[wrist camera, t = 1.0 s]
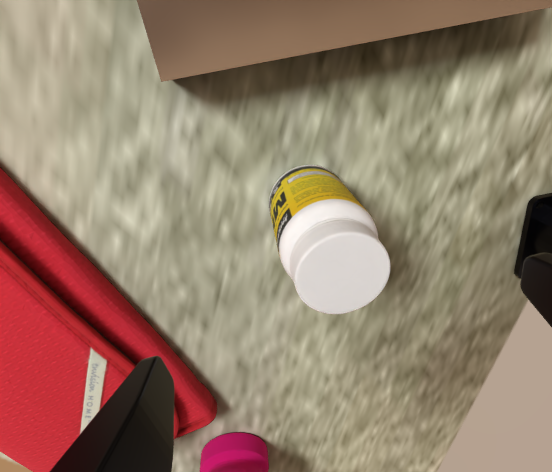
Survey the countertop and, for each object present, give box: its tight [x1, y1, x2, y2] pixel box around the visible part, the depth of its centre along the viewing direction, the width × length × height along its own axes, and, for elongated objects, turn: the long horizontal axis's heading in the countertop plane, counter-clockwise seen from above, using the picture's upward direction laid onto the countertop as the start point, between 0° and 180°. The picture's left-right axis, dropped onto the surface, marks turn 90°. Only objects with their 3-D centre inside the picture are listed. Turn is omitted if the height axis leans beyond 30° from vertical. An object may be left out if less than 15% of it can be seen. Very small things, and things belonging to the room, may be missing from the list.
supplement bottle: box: [269, 165, 390, 314], centre depth 17 cm, size 5×5×8 cm
